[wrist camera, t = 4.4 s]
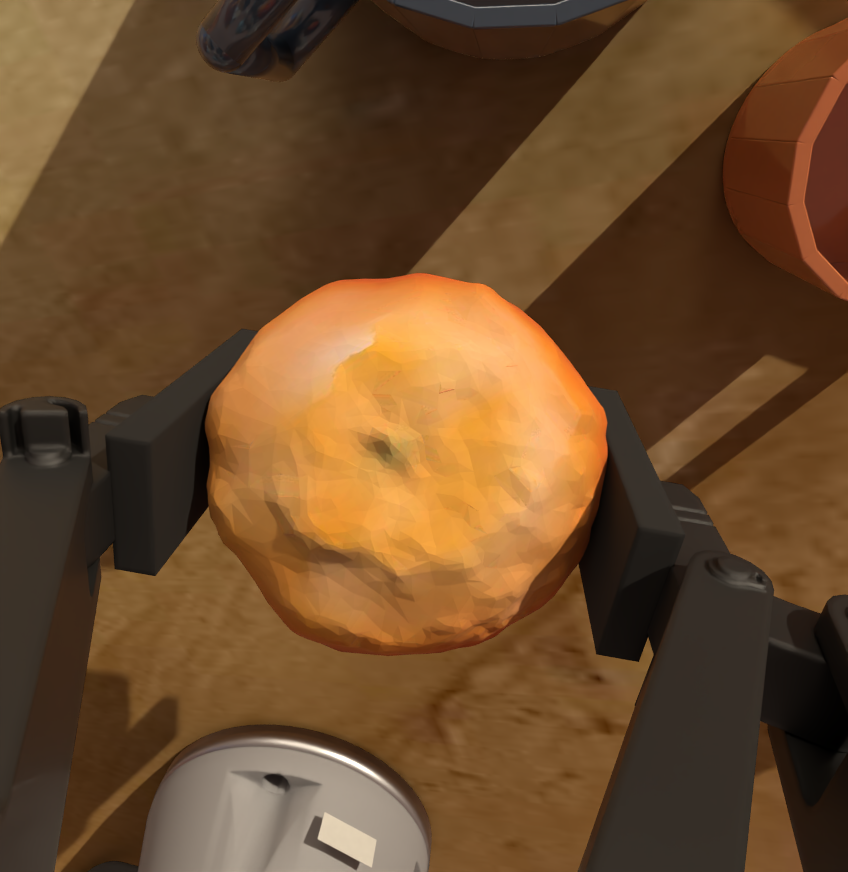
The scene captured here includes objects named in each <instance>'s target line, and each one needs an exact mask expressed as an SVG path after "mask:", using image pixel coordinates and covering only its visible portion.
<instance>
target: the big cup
mask: <svg viewBox="0 0 848 872" xmlns="http://www.w3.org/2000/svg"><path fill="white" fill-rule="evenodd" d="M358 1H359V0H218V1H217V2H216V3H215V5H214V6H213V7H212V9H211V10H210V11H209V12H208V14H207V15H206V16H205V18H204V19H203V20H202V21H201V23H200V25H199V27H198V29H197V34H196V44H197V48H198V51H199V53H200V55H201V57H202V58H203V60H204V61H205V62H206V63H207V64H208V65H209V66H210V67H212V68H213V69H215V70H217V71H220V72H224V73H229V74H235V75H240V76H246V77H251V78H257V79H262V80H268V81H273V82H285V81H287V80H289V79H291V78H292V77H293V76H294V75H295V74H296V72H297V71H298V70H299V69H300V68H301V67H302V65H303V64H304V63H305V62H306V61H307V60H308V59H309V57H310V56H311V55H312V54H313V53H314V52H315V51H316V49H317V48H318V47H319V46H320V45H321V44H322V43H323V41H324V40H325V39H326V38H327V37H328V36H329V34H330V33H331V32H332V31H333V30H334V29H335V28H336V26H337V25H338V24H339V23H340V22H341V21H342V20H343V18H344V17H345V16H346V15H347V14H348V13H349V11H350V10H351V9H352V8H353V7H354V6H355V5H356V3H357V2H358ZM371 1H372V2H373V3H374V4H376V5H377V6H378V7H379V8H380V9H381V10H382V11H384V12H385V13H387V14H388V15H390V16H391V17H392V18H394V19H395V20H397V21H398V22H399V23H400V24H402V25H403V26H405V27H406V28H408V29H409V30H411V31H412V32H414V33H415V34H416V35H418V36H419V37H421V38H422V39H424V40H425V41H426V42H429V43H431V44H434V45H438V46H441V47H443V48H445V49H447V50H451V51H454V52H458V53H462V54H465V55H469V56H473V57H477V58H480V59H482V58H483V59H496V60H499V59H525V58H535V57H539V56H540V57H542V56H545V55H548V54H551V53H554V52H557V51H560V50H563V49H566V48H570V47H573V46H575V45H577V44H579V43H581V42H584V41H587V40H589V39H592V38H595V37H596V36H599V35H600V34H602V33H603V32H604V31H606V30H607V29H609V28H610V27H611V26H613V25H614V24H616V23H617V22H618V21H620V20H621V19H623V18H624V17H625V16H627V15H628V14H629V13H631V12H632V11H633V10H635V9H636V8H638V7H639V6H640V5H642V4H643V3H645V2H646V1H647V0H371Z"/></svg>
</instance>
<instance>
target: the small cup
mask: <svg viewBox="0 0 848 872" xmlns="http://www.w3.org/2000/svg"><path fill="white" fill-rule="evenodd" d="M723 188H724V196H725V200H726V204H727V208H728V211H729V213H730V216H731V218H732V221H733V223H734V224H735V226H736V228H737V230H738V231H739V233H740V234H741V235H742V237H743V238H744V239H745V240H746V242H747V243H748V244H749V245H750V246H751V247H752V248H754V249H755V250H756V251H757V252H758V253H759V254H761V255H762V256H763V257H764V258H765V259H766V260H767V261H769V262H770V263H772V264H774V265H776V266H778V267H780V268H782V269H784V270H786V271H788V272H789V273H791V274H793V275H795V276H797V277H799V278H801V279H803V280H805V281H807V282H809V283H810V284H812V285H814V286H816V287H818V288H820V289H822V290H824V291H826V292H828V293H830V294H832V295H833V296H835V297H837V298H839V299H842V300H845V301H848V18H846V19H844V20H842V21H840V22H838V23H836V24H833V25H831V26H829V27H827V28H824V29H822V30H820V31H818V32H816V33H814V34H812V35H811V36H809V37H807V38H806V39H804V40H802V41H801V42H799V43H798V44H797V45H795V46H794V47H792V48H791V49H790V50H788V51H787V52H786V53H785V54H783V55H782V56H781V57H780V58H779V59H778V60H777V61H776V62H775V63H774V64H773V65H772V66H771V67H770V68H769V69H768V70H767V71H766V72H765V73H764V75H763V76H762V77H761V78H760V79H759V80H758V81H757V83H756V84H755V86H754V87H753V89H752V90H751V91H750V93H749V94H748V96H747V97H746V99H745V101H744V103H743V104H742V106H741V108H740V110H739V112H738V114H737V116H736V118H735V121H734V123H733V126H732V128H731V131H730V134H729V138H728V141H727V144H726V149H725V155H724V161H723Z"/></svg>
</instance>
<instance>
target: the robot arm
mask: <svg viewBox="0 0 848 872" xmlns="http://www.w3.org/2000/svg"><path fill="white" fill-rule="evenodd" d="M257 333H258V331H252V330H246V329H241V330H240V331H239V332H237V333H236V334H235V335H233V336H232V337H231V338H230V339H228V340H227V341H226V342H224V343H223V344H222V345H221V346H219V347H218V348H217V349H215V350H214V351H213V352H211V353H210V354H209V355H208V356H206V357H205V358H204V359H202V360H201V361H200V362H199V363H197V364H196V365H195V366H193V367H192V368H191V369H190V370H188V371H187V372H186V373H184V374H183V375H182V376H181V377H179V378H178V379H177V380H175V381H174V382H173V383H171V384H170V385H169V386H168V387H166V388H165V389H164V390H162V391H161V392H160V393H159V394H157V395H156V396H155V397H152V396H146V395H140V396H137V397H134V398H131V399H128V400H125V401H122V402H120V403H118V404H117V405H116V406H114V407H113V408H111V409H110V410H109V411H107V413H106V414H103V415H102V416H100V417H99V418H97V419H96V420H95V422H92V423H90V424H89V425H88V414H87V409H86V406H85V405H84V404H82V403H81V402H79V401H77V400H73V399H69V398H66V397H53V396H45V397H32V398H27V399H22V400H17V401H14V402H12V403H9V404H7V405H4V406H3V407H2V408H1V409H0V438H1V445H2V451H3V459H2V461H1V463H0V872H54V870H55V863H56V857H57V851H58V845H59V838H60V832H61V826H62V820H63V813H64V807H65V801H66V795H67V788H68V782H69V776H70V770H71V763H72V757H73V751H74V744H75V738H76V732H77V726H78V719H79V713H80V707H81V701H82V694H83V688H84V682H85V676H86V669H87V663H88V657H89V651H90V644H91V638H92V632H93V626H94V619H95V613H96V607H97V601H98V594H99V588H100V582H101V568H100V556H101V555H102V554H103V553H104V552H105V551H106V550H107V549H108V547H109V546H110V545H111V544H112V543H113V552H114V565H115V569H118V570H124V571H129V572H135V573H141V574H146V575H152V576H156V574H157V573H158V572H159V570H160V569H161V568H162V567H163V565H164V564H165V563H166V561H167V560H168V559H169V557H170V556H171V555H172V553H173V552H174V551H175V550H176V548H177V547H178V546H179V544H180V543H181V542H182V540H183V539H184V538H185V536H186V535H187V534H188V533H189V531H190V530H191V529H192V527H193V526H194V525H195V523H196V522H197V521H198V519H199V518H200V517H201V516H202V514H203V513H204V512H205V510H206V509H207V508H208V506H209V505H208V493H207V487H206V486H207V478H208V473H209V468H210V454H209V444H208V440H207V436H206V432H205V419H206V415H207V411H208V405H209V401H210V398H211V395H212V394H213V392H214V391H215V390H216V388H217V387H218V386H219V384H220V383H221V382H222V381H223V380H224V378H225V377H226V376H227V375H228V373H229V372H230V371H231V369H232V368H233V367H234V365H235V364H236V363H237V361H238V360H239V358H240V357H241V355H242V354H243V352H244V351H245V349H246V348H247V347H248V345H249V344H250V342H251V341H252V339H253V338H254V337H255V335H256V334H257ZM588 388H589V389H590V391H591V392H592V393H593V395H594V396H595V398H596V399H597V400H598V402H599V403H600V405H601V406H602V407H603V409H604V411H605V414H606V419H607V428H606V441H607V446H608V457H607V468H606V473H605V477H604V482H603V487H602V492H601V497H600V502H599V508H598V511H597V514H596V517H595V519H594V522H593V524H592V527H591V532H590V539H589V542H588V545H587V548H586V550H585V552H584V555H583V557H582V558H581V560H580V562H579V568H580V573H581V578H582V583H583V588H584V593H585V598H586V603H587V608H588V614H589V619H590V624H591V629H592V634H593V639H594V644H595V649H596V654H598V655H603V656H609V657H615V658H620V659H626V660H631V661H637V662H639V660H640V657H641V654H642V652H643V649H644V646H645V643H646V641H647V638H648V637H649V640H650V644H651V647H652V650H653V653H654V656H653V658H652V661H651V664H650V666H649V669H648V671H647V674H646V677H645V679H644V682H643V685H642V687H641V690H640V693H639V695H638V698H637V700H636V703H635V709H634V712H633V714H632V717H631V720H630V723H629V726H628V729H627V732H626V735H625V737H624V740H623V743H622V746H621V749H620V752H619V755H618V758H617V760H616V763H615V766H614V769H613V772H612V775H611V778H610V781H609V784H608V786H607V789H606V792H605V795H604V798H603V801H602V804H601V807H600V809H599V812H598V815H597V818H596V821H595V824H594V827H593V830H592V832H591V835H590V838H589V841H588V844H587V847H586V850H585V853H584V855H583V858H582V861H581V864H580V867H579V870H578V872H744V870H745V860H746V851H747V841H748V832H749V822H750V813H751V803H752V794H753V784H754V775H755V765H756V756H757V746H758V737H759V727H760V721H762V722H764V723H767V724H768V733H769V737H770V741H771V745H772V749H773V753H774V757H775V761H776V765H777V769H778V773H779V777H780V780H781V784H782V788H783V792H784V796H785V800H786V804H787V808H788V812H789V816H790V820H791V824H792V828H793V832H794V836H795V840H796V844H797V848H798V852H799V856H800V860H801V864H802V868H803V872H848V595H838V596H833V597H831V598H830V599H829V600H828V601H827V603H826V605H825V607H824V609H823V611H822V613H821V614H820V613H817V612H814V611H812V610H809V609H806V608H803V607H800V606H797V605H795V604H792V603H789V602H786V601H784V600H782V599H779V598H777V597H774V596H773V594H774V588H773V585H772V581H771V580H770V579H769V578H768V576H767V575H766V574H765V573H764V572H763V571H762V570H761V569H759V568H758V567H756V566H755V565H753V564H752V563H751V562H749V561H746V560H744V559H742V558H740V557H738V556H736V555H733V554H730V552H729V550H728V549H727V547H726V545H725V543H724V541H723V540H722V538H721V536H720V534H719V533H718V531H717V529H716V527H715V526H713V522H712V520H711V518H710V517H709V515H707V511H706V510H705V508H704V506H703V504H702V502H701V501H700V499H699V498H698V497H697V496H696V495H695V494H693V493H692V492H691V491H690V490H689V489H687V488H686V487H685V486H684V485H682V484H676V483H670V482H664V481H660V480H659V478H658V476H657V474H656V472H655V469H654V467H653V465H652V463H651V461H650V459H649V457H648V455H647V453H646V451H645V449H644V446H643V444H642V442H641V440H640V438H639V436H638V434H637V432H636V430H635V428H634V426H633V423H632V421H631V419H630V417H629V415H628V413H627V411H626V409H625V407H624V405H623V403H622V401H621V398H620V396H619V394H618V392H617V391H614V390H608V389H602V388H596V387H590V386H588ZM430 851H431V827H430V823H429V819H428V816H427V813H426V811H425V809H424V806H423V805H422V803H421V801H420V799H419V798H418V796H417V795H416V793H415V792H414V791H413V789H412V788H411V787H410V786H409V785H408V784H407V782H406V781H405V780H404V779H403V778H402V777H401V776H400V775H399V774H397V773H396V772H395V771H394V770H393V769H392V768H390V767H389V766H388V765H387V764H385V763H384V762H383V761H381V760H379V759H378V758H376V757H375V756H373V755H372V754H370V753H368V752H366V751H365V750H363V749H361V748H359V747H357V746H355V745H353V744H351V743H348V742H346V741H344V740H341V739H338V738H336V737H333V736H330V735H327V734H323V733H320V732H316V731H312V730H308V729H303V728H297V727H291V726H281V725H247V726H240V727H233V728H229V729H224V730H221V731H218V732H215V733H212V734H209V735H207V736H205V737H202V738H200V739H199V740H197V741H195V742H193V743H192V744H190V745H189V746H188V747H186V748H185V749H184V750H183V751H182V752H181V753H180V754H179V755H177V757H176V758H175V759H174V760H173V762H172V763H171V765H170V767H169V768H168V770H167V772H166V774H165V776H164V778H163V780H162V782H161V784H160V786H159V787H158V789H157V791H156V794H155V796H154V799H153V803H152V805H151V808H150V811H149V814H148V818H147V822H146V828H145V834H144V839H143V845H142V851H141V856H140V862H139V866H135V865H131V864H128V863H124V862H119V861H110V862H105V863H102V864H100V865H97V866H95V867H93V868H92V869H90V870H89V871H88V872H428V869H429V861H430Z"/></svg>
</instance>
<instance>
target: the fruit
mask: <svg viewBox="0 0 848 872" xmlns="http://www.w3.org/2000/svg"><path fill="white" fill-rule="evenodd" d="M606 428H607V419H606V414H605V411H604V409H603V407H602V406H601V405H600V403H599V402H598V400H597V399H596V398H595V396H594V395H593V393H592V392H591V391H590V389H589V388H588V386H587V385H586V384H585V382H584V381H583V379H582V378H581V376H580V375H579V373H578V372H577V371H576V369H575V368H574V367H573V365H572V364H571V363H570V361H569V360H568V359H567V357H566V356H565V355H564V354H563V352H562V351H561V350H560V349H559V347H558V346H557V345H556V344H555V342H554V341H553V340H552V339H551V338H550V337H549V335H548V334H547V333H546V332H545V331H544V330H543V329H542V327H541V326H540V325H539V324H537V323H536V322H535V321H534V320H533V319H531V318H530V317H529V316H528V315H526V314H525V313H524V312H523V311H522V310H520V309H519V308H518V307H516V306H514V305H513V304H511V303H509V302H507V301H506V300H504V299H503V298H502V297H500V296H499V295H498V294H497V293H496V292H495V291H494V290H493V289H492V288H490V287H488V286H486V285H483V284H479V283H467V282H463V281H458V280H454V279H450V278H445V277H441V276H436V275H431V274H426V273H415V274H410V275H404V276H399V277H394V278H388V279H351V280H339V281H335V282H332V283H329V284H327V285H324V286H322V287H320V288H319V289H317V290H315V291H313V292H312V293H310V294H308V295H307V296H305V297H303V298H302V299H300V300H299V301H297V302H296V303H295V304H293V305H292V306H291V307H289V308H288V309H287V310H285V311H284V312H283V313H281V314H280V315H279V316H278V317H276V318H275V319H273V320H272V321H270V322H269V323H268V324H267V325H265V326H264V327H263V328H261V329H260V330H259V332H258V333H257V334H256V335H255V337H254V338H253V339H252V341H251V342H250V344H249V345H248V347H247V348H246V349H245V351H244V352H243V354H242V355H241V357H240V358H239V360H238V361H237V363H236V364H235V365H234V367H233V368H232V369H231V371H230V372H229V373H228V375H227V376H226V377H225V378H224V380H223V381H222V382H221V383H220V384H219V386H218V387H217V388H216V390H215V391H214V392H213V394H212V395H211V398H210V401H209V405H208V411H207V415H206V419H205V432H206V436H207V440H208V444H209V454H210V468H209V473H208V478H207V486H206V487H207V493H208V505H209V511H210V516H211V519H212V520H213V522H214V524H215V525H216V528H217V531H218V534H219V536H220V538H221V540H222V542H223V543H224V544H225V545H226V546H227V547H228V548H229V549H230V550H231V551H232V552H233V553H234V554H236V555H237V557H238V558H239V560H240V561H241V562H242V564H243V565H244V566H245V568H246V569H247V571H248V572H249V573H250V575H251V576H252V578H253V579H254V581H255V582H256V584H257V586H258V587H259V589H260V590H261V592H262V594H263V595H264V597H265V599H266V600H267V602H268V603H269V605H270V606H271V607H272V608H273V610H274V611H275V612H276V613H277V615H278V616H279V617H280V618H281V619H282V621H283V622H284V623H285V624H286V625H287V626H288V627H289V629H290V630H292V631H293V632H294V633H296V634H298V635H299V636H302V637H304V638H306V639H309V640H312V641H315V642H318V643H321V644H323V645H326V646H328V647H330V648H333V649H335V650H338V651H341V652H351V653H362V654H373V655H384V656H393V655H407V654H428V653H441V652H445V651H449V650H453V649H457V648H462V647H470V646H474V645H477V644H479V643H482V642H484V641H486V640H489V639H491V638H493V637H495V636H496V635H498V634H499V633H500V632H501V631H502V630H504V629H505V628H506V627H508V626H509V625H511V624H513V623H515V622H516V621H518V620H520V619H522V618H524V617H525V616H527V615H529V614H531V613H533V612H534V611H536V610H538V609H540V608H541V607H542V606H543V605H544V604H546V603H547V602H548V601H549V600H550V599H551V598H552V597H553V596H555V594H556V593H557V591H558V590H559V589H560V588H561V586H562V585H563V583H564V582H565V580H566V579H567V577H568V576H569V575H570V574H571V572H572V571H573V570H574V568H575V567H576V566H577V564H578V563H579V562H580V560H581V558H582V557H583V555H584V552H585V550H586V548H587V545H588V542H589V539H590V532H591V527H592V524H593V522H594V519H595V517H596V514H597V511H598V508H599V502H600V497H601V492H602V487H603V482H604V477H605V473H606V468H607V457H608V446H607V441H606Z"/></svg>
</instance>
